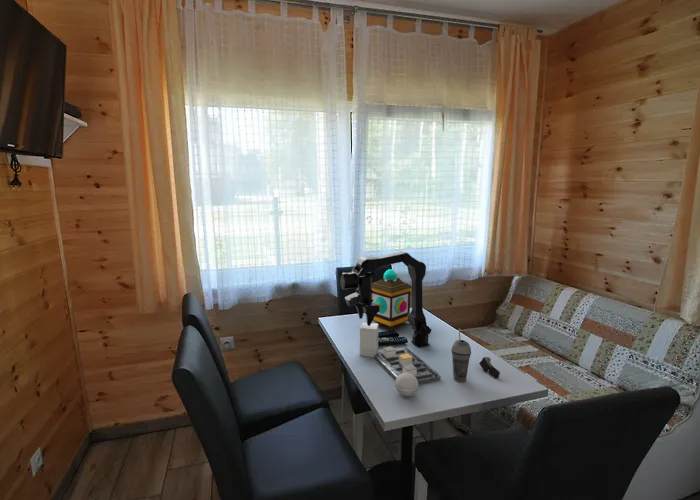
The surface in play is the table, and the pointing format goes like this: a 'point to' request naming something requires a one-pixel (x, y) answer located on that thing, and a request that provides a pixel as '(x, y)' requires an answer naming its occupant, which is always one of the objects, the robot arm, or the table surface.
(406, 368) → the breaker near
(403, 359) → the block
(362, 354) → the supplement box
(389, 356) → the breaker far
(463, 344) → the beverage cup
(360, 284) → the robot arm
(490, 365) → the black bow tie
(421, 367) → the panel
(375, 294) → the decorative lantern
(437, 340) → the table surface
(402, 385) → the bath bomb
